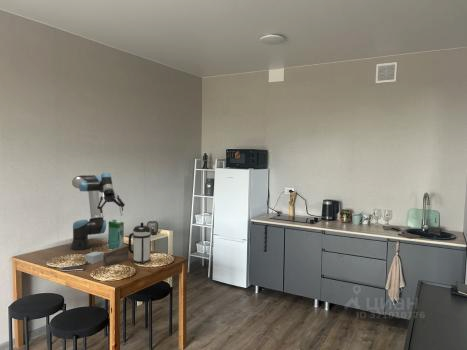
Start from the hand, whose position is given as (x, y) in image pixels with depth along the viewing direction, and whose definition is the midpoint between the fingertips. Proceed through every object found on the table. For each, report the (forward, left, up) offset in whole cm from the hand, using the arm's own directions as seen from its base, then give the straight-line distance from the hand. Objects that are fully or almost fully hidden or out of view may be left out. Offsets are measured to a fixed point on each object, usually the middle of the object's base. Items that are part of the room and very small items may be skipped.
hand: (112, 215), depth 267 cm
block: (-9, -10, -34) cm, 37 cm away
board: (+7, -4, -34) cm, 35 cm away
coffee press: (+21, +6, -34) cm, 41 cm away
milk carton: (-17, +22, -34) cm, 44 cm away
